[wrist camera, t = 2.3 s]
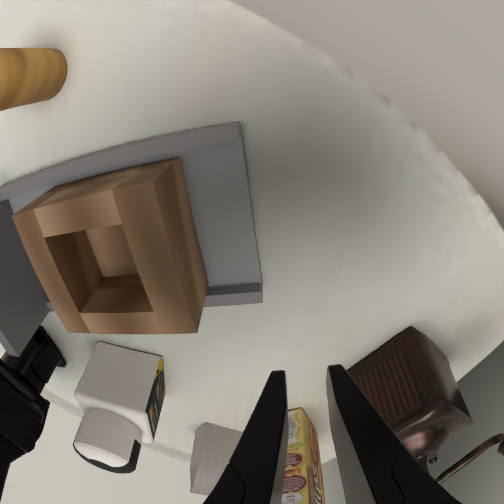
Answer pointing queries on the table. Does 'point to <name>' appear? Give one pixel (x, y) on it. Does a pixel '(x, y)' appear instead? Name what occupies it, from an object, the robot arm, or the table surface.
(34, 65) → the dowel
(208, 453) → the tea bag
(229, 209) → the rail board
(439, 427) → the manual coffee grinder
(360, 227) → the table surface
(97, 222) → the block
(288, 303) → the table surface
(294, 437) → the candy box
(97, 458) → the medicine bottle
